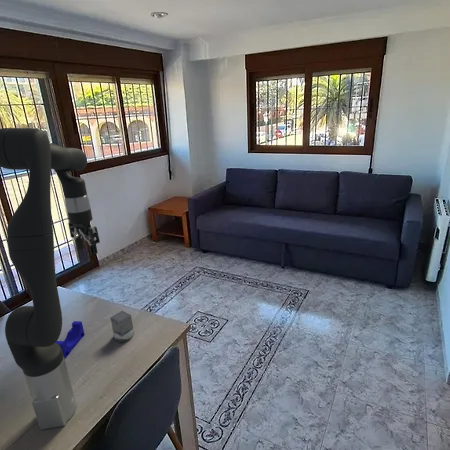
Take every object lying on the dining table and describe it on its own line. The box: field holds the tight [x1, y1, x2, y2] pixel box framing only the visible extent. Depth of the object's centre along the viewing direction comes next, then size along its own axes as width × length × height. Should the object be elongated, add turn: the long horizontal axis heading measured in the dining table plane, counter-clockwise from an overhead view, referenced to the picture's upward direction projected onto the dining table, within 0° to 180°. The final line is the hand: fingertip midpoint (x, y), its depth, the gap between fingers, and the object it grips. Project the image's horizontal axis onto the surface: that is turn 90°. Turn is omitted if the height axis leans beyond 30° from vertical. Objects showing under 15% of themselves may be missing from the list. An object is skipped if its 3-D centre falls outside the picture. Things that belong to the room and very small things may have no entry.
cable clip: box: [55, 320, 86, 360], centre depth 111 cm, size 12×4×6 cm, turn 173°
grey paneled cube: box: [110, 310, 134, 336], centre depth 114 cm, size 5×5×6 cm
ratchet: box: [112, 328, 135, 343], centre depth 117 cm, size 14×7×6 cm, turn 10°
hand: (87, 251), depth 114 cm, fingers open, 8 cm apart
